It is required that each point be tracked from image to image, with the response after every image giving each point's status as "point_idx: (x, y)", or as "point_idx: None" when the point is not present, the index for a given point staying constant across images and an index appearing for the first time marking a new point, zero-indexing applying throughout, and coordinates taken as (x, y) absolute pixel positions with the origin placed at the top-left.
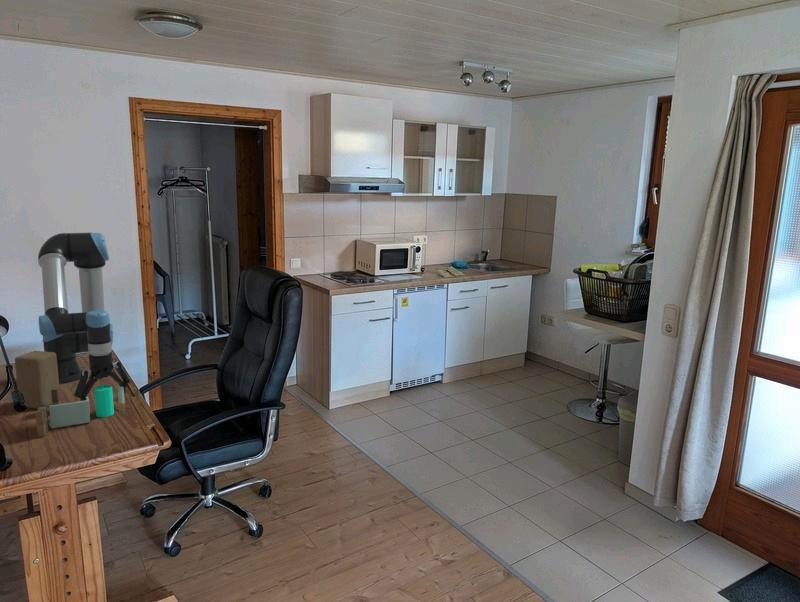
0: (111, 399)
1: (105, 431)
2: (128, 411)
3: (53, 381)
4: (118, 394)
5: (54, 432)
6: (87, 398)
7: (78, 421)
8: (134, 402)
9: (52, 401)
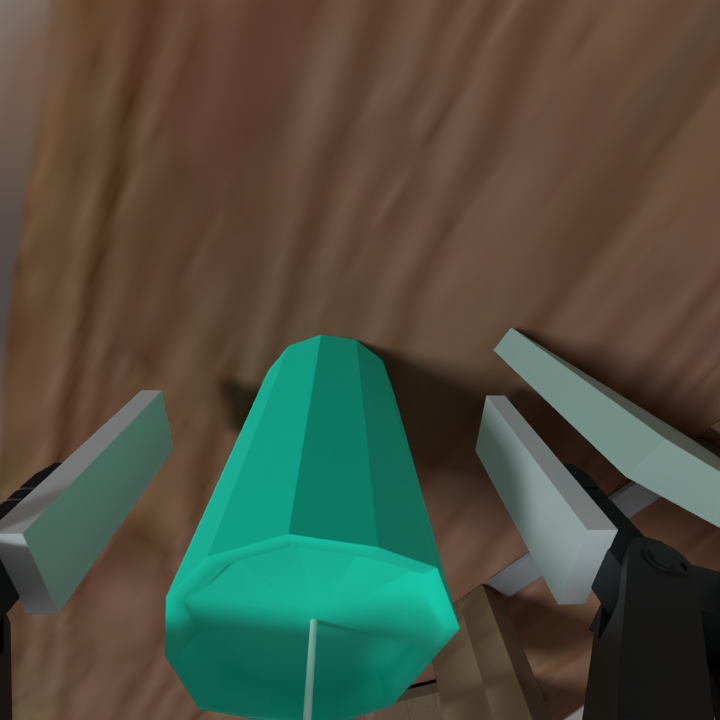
0: (276, 414)
1: (586, 22)
2: (172, 295)
3: None
4: (130, 500)
5: (717, 381)
6: (596, 521)
7: (585, 374)
8: (50, 421)
9: (539, 693)
